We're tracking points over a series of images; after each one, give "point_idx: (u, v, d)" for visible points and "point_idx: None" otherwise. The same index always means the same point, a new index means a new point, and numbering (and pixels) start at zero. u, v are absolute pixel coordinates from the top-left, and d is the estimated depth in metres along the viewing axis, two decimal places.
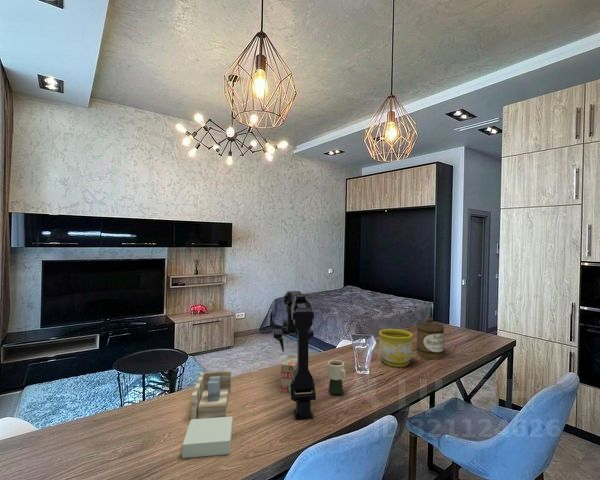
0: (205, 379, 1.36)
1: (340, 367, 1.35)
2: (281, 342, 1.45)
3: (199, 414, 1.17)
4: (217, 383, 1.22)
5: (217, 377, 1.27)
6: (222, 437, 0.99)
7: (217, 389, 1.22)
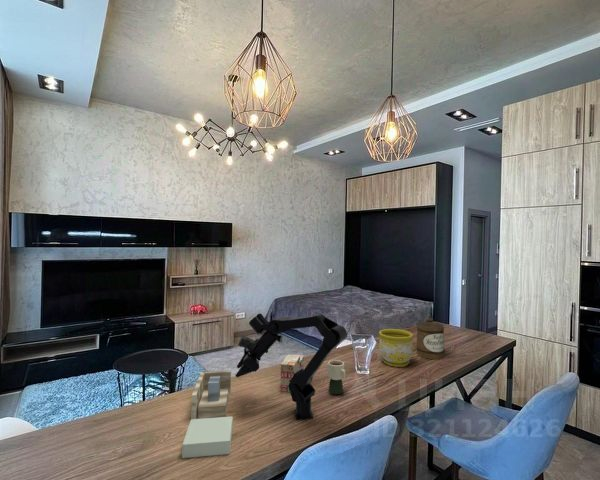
0: (205, 379, 1.36)
1: (340, 367, 1.35)
2: None
3: (199, 414, 1.17)
4: (217, 383, 1.22)
5: (217, 377, 1.27)
6: (222, 437, 0.99)
7: (217, 389, 1.22)
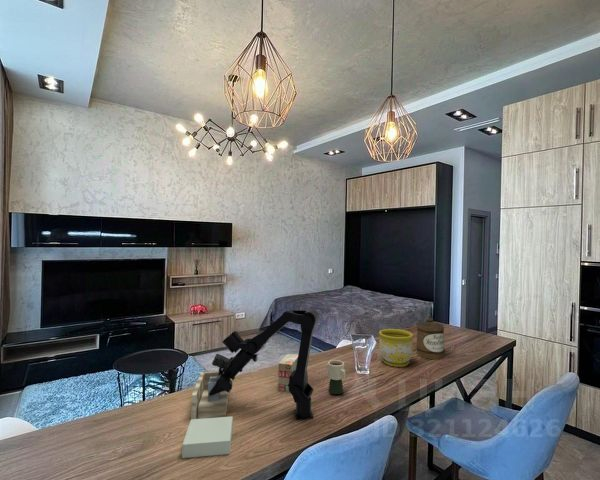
0: (205, 379, 1.36)
1: (340, 367, 1.35)
2: None
3: (199, 414, 1.17)
4: None
5: None
6: (222, 437, 0.99)
7: None
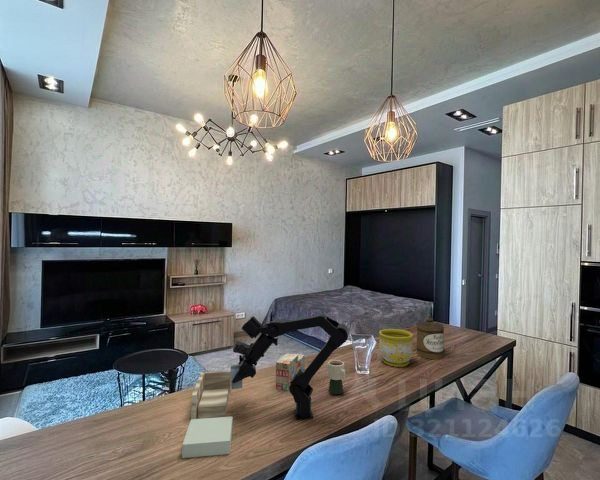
0: (205, 379, 1.36)
1: (340, 367, 1.35)
2: None
3: (199, 414, 1.17)
4: None
5: (238, 364, 1.24)
6: (222, 437, 0.99)
7: None
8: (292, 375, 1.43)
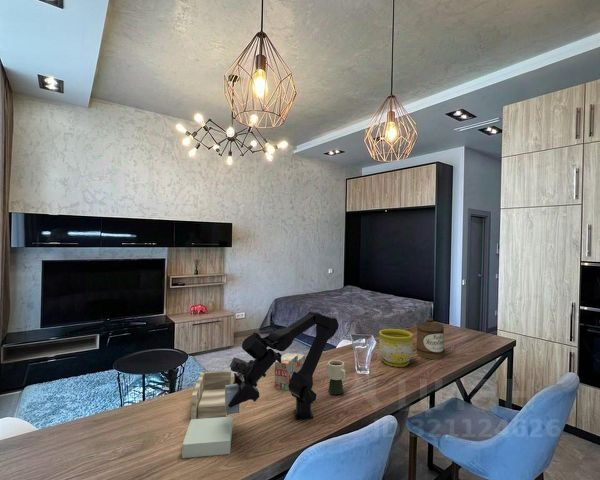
0: (205, 379, 1.36)
1: (340, 367, 1.35)
2: None
3: (199, 414, 1.17)
4: None
5: (234, 385, 1.08)
6: (222, 437, 0.99)
7: None
8: (291, 375, 1.44)
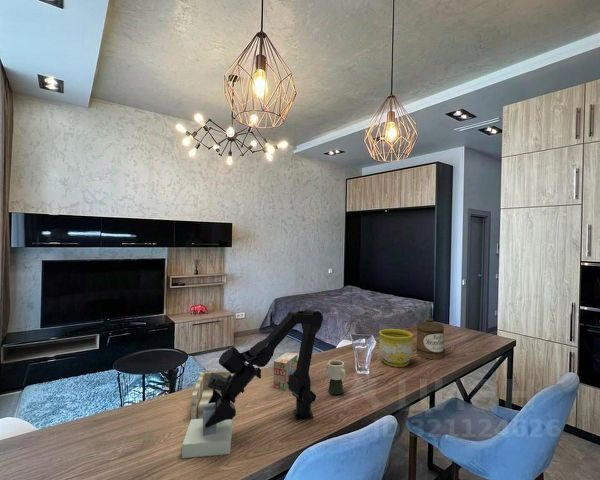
0: (205, 379, 1.36)
1: (340, 367, 1.35)
2: None
3: (199, 414, 1.17)
4: None
5: (212, 404, 1.05)
6: (222, 437, 0.99)
7: None
8: None
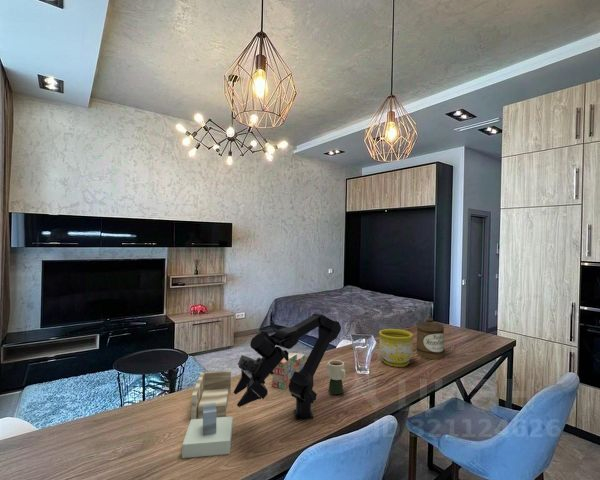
0: (205, 379, 1.36)
1: (340, 367, 1.35)
2: None
3: (199, 414, 1.17)
4: (214, 412, 1.01)
5: (212, 404, 1.05)
6: (222, 437, 0.99)
7: (214, 419, 1.01)
8: (289, 374, 1.45)
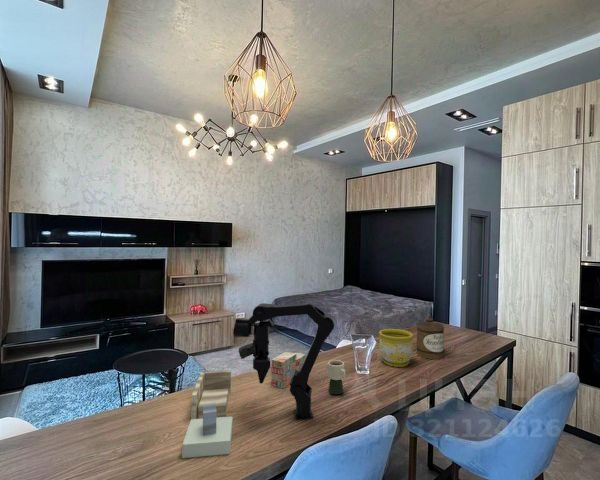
0: (205, 379, 1.36)
1: (340, 367, 1.35)
2: None
3: (199, 414, 1.17)
4: (214, 412, 1.01)
5: (212, 404, 1.05)
6: (222, 437, 0.99)
7: (214, 419, 1.01)
8: (288, 373, 1.45)
